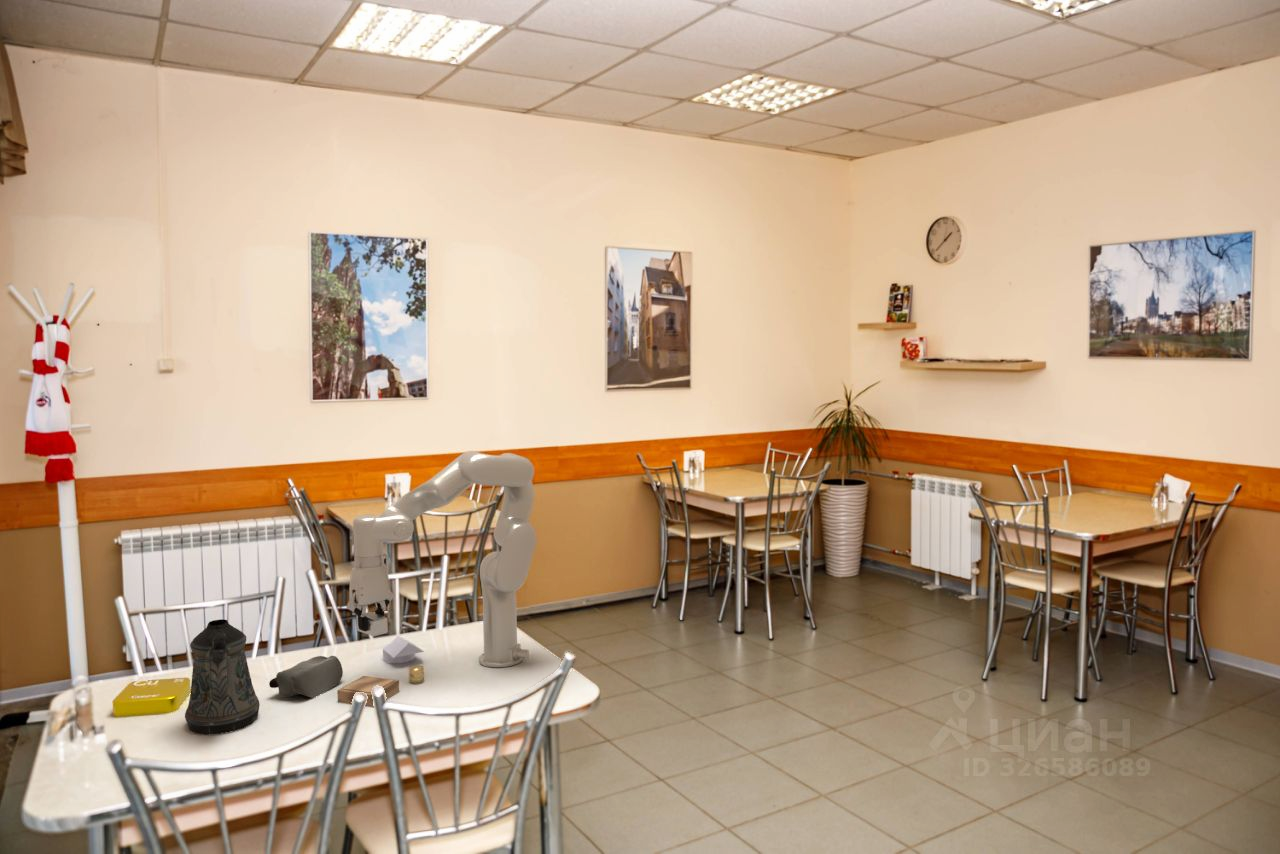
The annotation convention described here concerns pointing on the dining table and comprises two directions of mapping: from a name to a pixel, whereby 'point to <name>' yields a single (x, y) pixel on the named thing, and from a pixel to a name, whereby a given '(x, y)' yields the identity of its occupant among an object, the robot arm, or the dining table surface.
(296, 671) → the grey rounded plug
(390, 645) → the wedge on round base
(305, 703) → the dining table surface
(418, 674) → the bushing
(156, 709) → the element tile
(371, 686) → the stand
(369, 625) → the block
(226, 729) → the ornate dark jug
